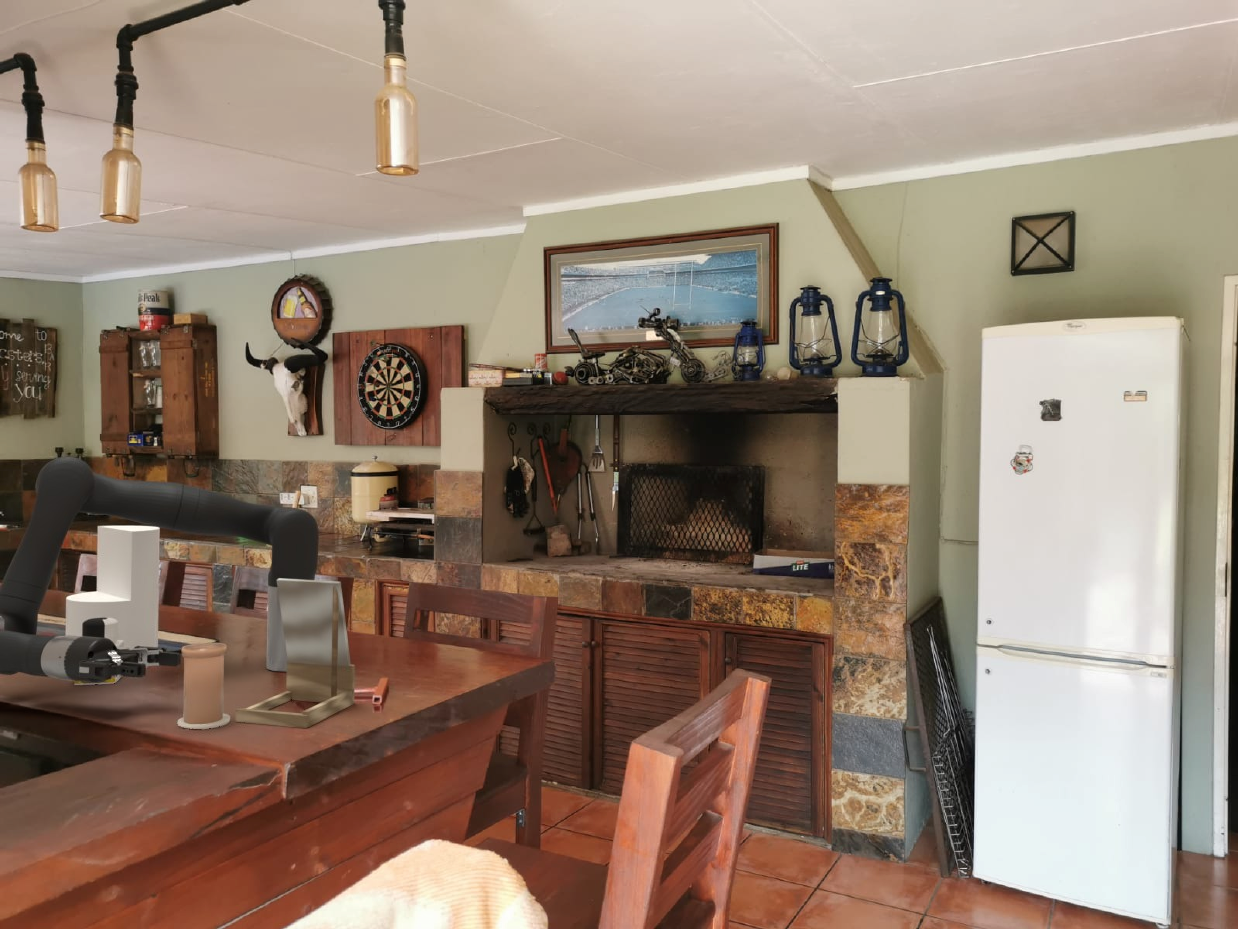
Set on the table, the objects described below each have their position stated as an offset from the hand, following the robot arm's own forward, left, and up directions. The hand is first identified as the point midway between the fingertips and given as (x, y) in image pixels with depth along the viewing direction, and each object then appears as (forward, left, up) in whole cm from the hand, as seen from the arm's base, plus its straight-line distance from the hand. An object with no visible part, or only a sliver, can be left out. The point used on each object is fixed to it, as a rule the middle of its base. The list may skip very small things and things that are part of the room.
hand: (162, 665), depth 158 cm
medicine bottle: (-19, -29, -9) cm, 36 cm away
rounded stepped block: (-34, -39, -9) cm, 53 cm away
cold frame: (-10, +19, -9) cm, 23 cm away
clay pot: (0, +8, -8) cm, 12 cm away
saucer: (0, +8, -9) cm, 12 cm away
